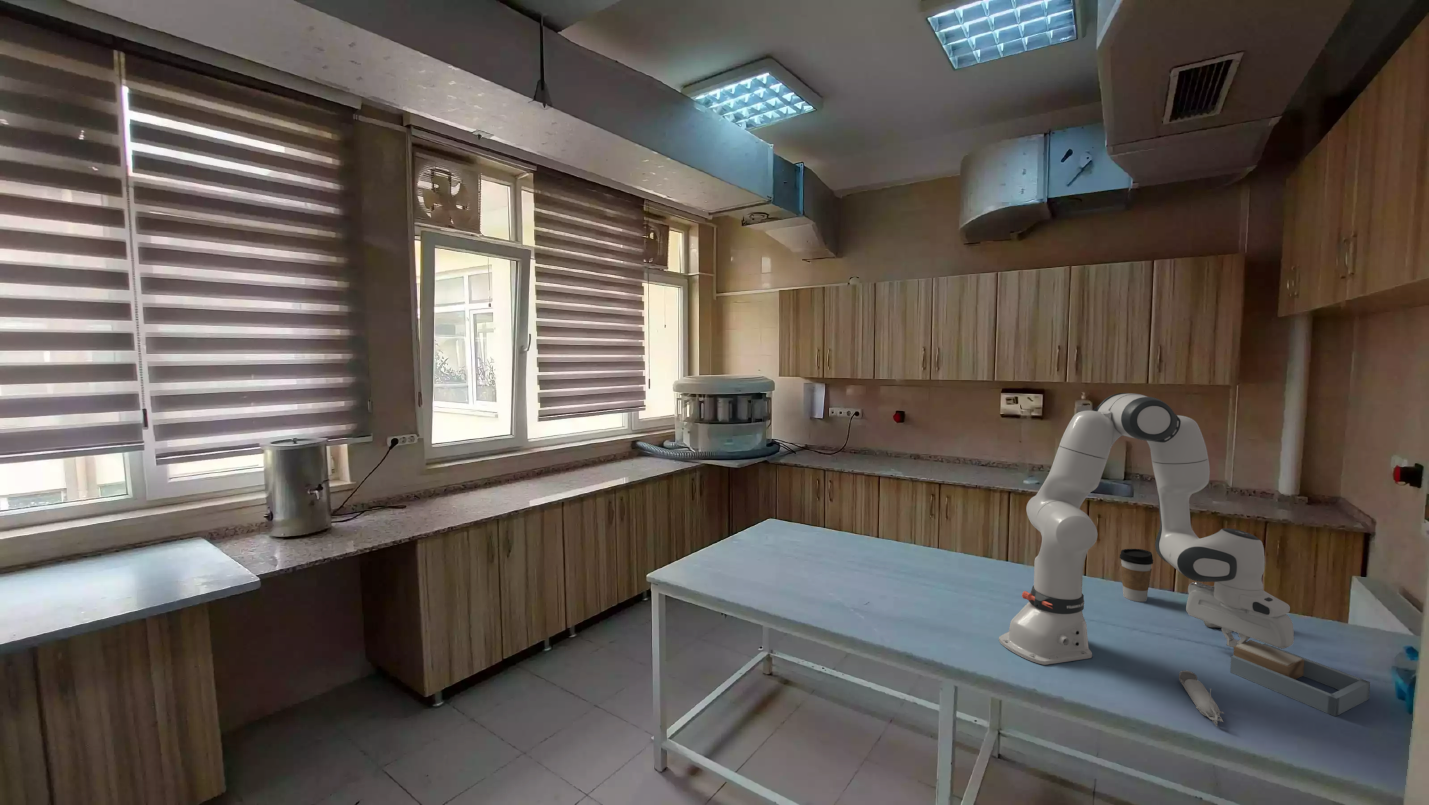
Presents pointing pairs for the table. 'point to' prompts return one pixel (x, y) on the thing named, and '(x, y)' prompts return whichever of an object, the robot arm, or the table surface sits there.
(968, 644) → the table surface
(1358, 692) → the bay
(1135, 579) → the coffee cup
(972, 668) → the table surface
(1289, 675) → the tan block
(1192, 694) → the torpedo
